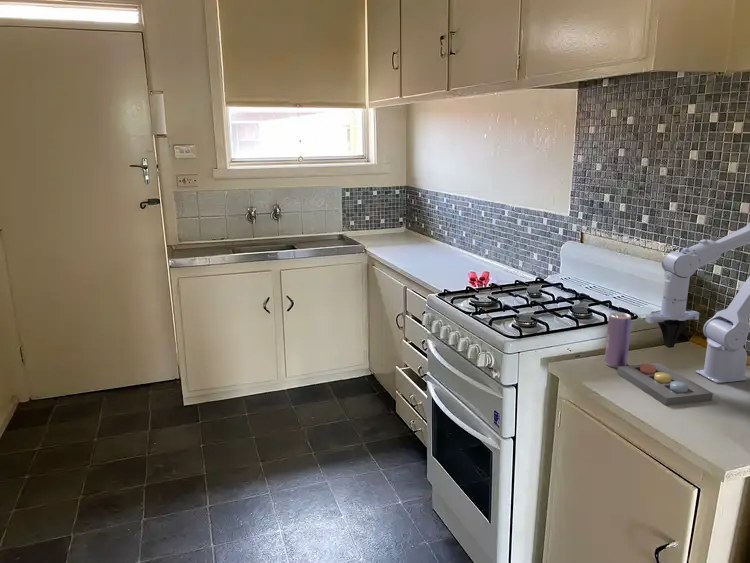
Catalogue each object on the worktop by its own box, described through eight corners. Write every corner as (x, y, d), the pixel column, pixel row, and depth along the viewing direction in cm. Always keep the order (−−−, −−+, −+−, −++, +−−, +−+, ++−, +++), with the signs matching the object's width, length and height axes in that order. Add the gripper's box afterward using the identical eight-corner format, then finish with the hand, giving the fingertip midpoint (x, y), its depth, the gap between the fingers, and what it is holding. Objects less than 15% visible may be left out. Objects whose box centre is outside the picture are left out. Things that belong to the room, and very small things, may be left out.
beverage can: (628, 369, 162) (633, 318, 158) (606, 367, 163) (611, 317, 159) (624, 361, 167) (629, 312, 164) (602, 359, 169) (607, 311, 165)
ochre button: (663, 379, 153) (664, 371, 152) (674, 385, 149) (675, 377, 148) (650, 380, 152) (651, 372, 151) (660, 386, 148) (661, 378, 147)
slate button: (679, 388, 147) (680, 380, 146) (690, 395, 143) (691, 387, 142) (665, 390, 146) (666, 382, 146) (676, 396, 142) (677, 388, 142)
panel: (658, 369, 161) (659, 362, 161) (711, 400, 142) (712, 393, 142) (616, 373, 159) (617, 366, 158) (665, 405, 140) (666, 398, 139)
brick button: (649, 370, 158) (649, 363, 158) (658, 376, 154) (659, 368, 154) (636, 371, 158) (637, 364, 157) (645, 377, 154) (646, 369, 153)
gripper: (660, 303, 144) (654, 353, 148) (710, 299, 147) (703, 349, 150) (642, 296, 151) (637, 344, 154) (690, 292, 154) (684, 340, 157)
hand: (668, 346), depth 153 cm, fingers closed
